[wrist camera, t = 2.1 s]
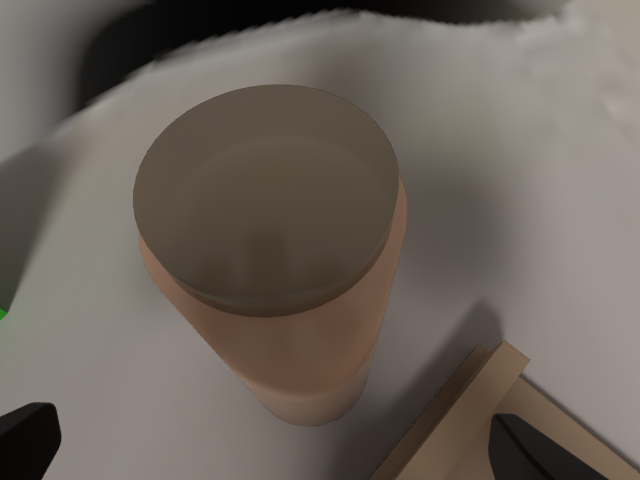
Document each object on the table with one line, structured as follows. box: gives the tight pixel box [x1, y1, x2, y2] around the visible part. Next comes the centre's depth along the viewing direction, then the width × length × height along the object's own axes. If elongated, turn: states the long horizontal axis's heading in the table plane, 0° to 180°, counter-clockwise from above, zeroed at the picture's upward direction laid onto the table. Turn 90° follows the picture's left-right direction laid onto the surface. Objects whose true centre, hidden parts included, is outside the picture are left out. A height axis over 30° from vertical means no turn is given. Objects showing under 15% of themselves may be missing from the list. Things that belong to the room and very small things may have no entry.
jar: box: [133, 85, 408, 426], centre depth 14 cm, size 6×6×14 cm
